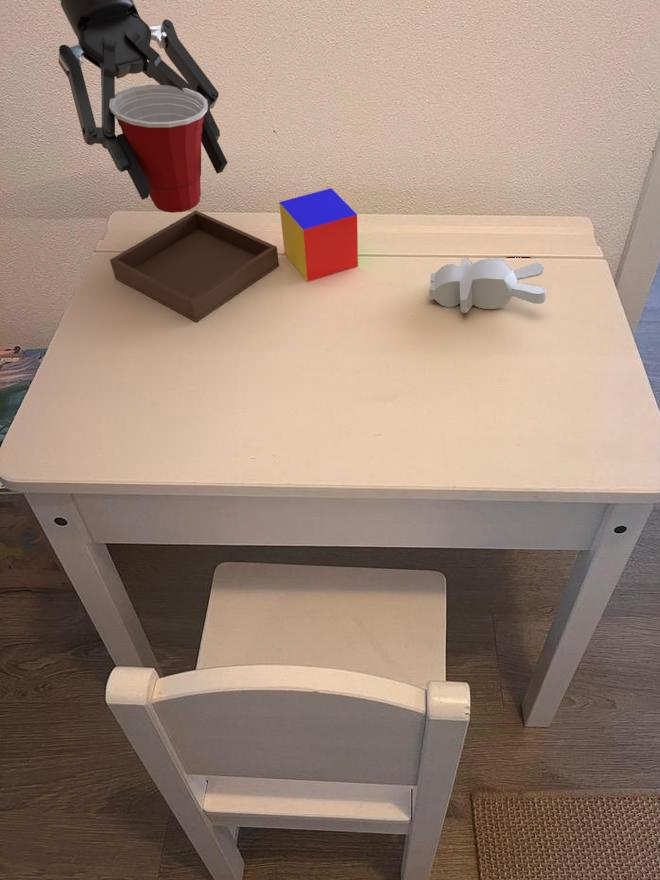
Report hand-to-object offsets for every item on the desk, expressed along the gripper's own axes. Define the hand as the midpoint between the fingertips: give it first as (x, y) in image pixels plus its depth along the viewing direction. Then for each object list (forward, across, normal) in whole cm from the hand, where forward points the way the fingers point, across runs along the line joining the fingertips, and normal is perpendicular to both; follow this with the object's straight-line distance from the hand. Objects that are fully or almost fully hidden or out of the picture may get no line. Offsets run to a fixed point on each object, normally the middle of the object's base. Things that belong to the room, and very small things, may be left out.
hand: (185, 180), depth 85 cm
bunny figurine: (+28, -30, +4) cm, 41 cm away
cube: (+13, -18, -12) cm, 25 cm away
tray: (+7, -2, -17) cm, 19 cm away
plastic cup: (+1, 0, -5) cm, 5 cm away
